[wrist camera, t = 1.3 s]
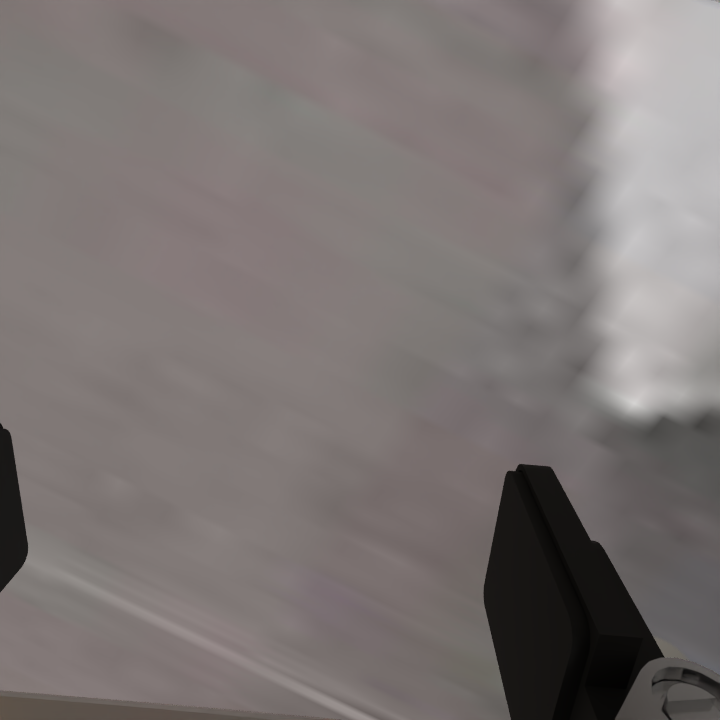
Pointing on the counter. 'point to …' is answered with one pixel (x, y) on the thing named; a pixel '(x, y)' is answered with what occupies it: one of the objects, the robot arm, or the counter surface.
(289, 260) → the counter surface
